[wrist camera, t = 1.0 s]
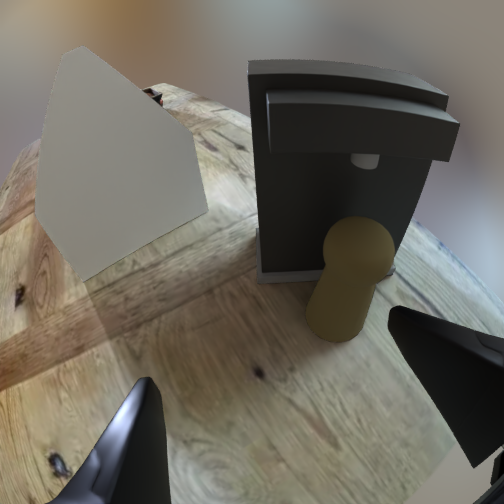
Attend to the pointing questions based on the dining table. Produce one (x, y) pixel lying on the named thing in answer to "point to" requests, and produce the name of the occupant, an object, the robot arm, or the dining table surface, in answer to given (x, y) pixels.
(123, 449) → the robot arm
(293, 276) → the coffee maker
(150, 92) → the square planter box
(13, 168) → the dining table surface
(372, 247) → the cork
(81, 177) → the white house shaped block
